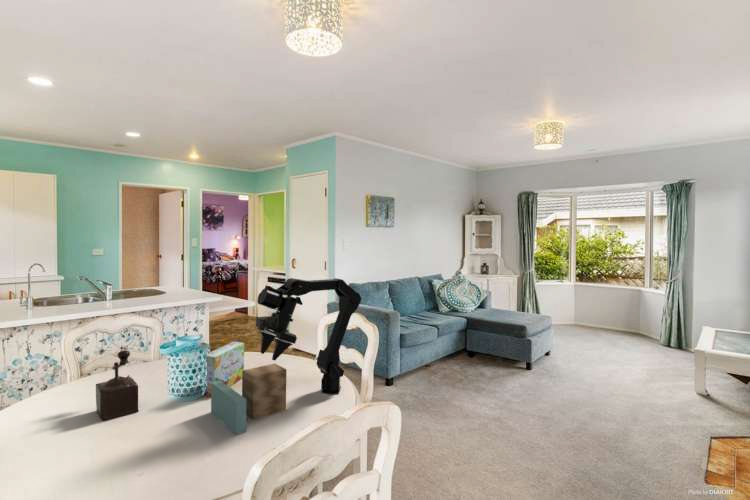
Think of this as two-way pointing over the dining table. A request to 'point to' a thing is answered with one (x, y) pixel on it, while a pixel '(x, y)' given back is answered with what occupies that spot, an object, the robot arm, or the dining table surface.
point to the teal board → (228, 407)
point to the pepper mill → (117, 393)
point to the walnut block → (264, 390)
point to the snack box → (225, 365)
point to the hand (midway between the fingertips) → (267, 356)
